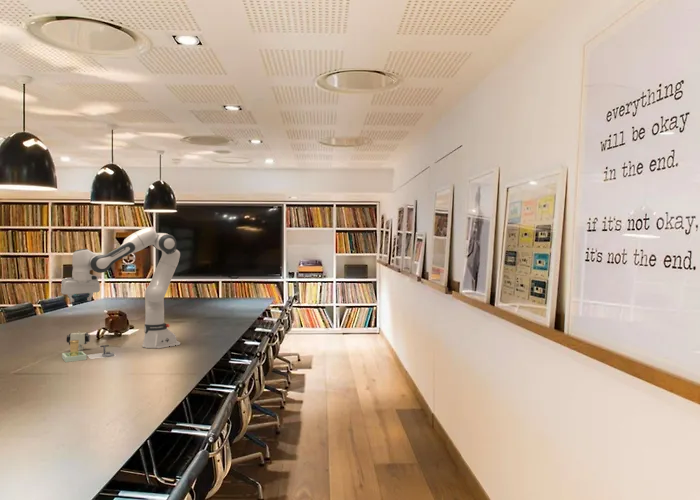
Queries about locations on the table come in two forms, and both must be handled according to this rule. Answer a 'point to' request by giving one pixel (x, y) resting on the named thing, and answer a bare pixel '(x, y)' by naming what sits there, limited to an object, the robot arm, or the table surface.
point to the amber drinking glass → (74, 347)
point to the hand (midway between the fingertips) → (80, 301)
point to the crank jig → (101, 354)
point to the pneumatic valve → (79, 338)
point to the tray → (74, 357)
